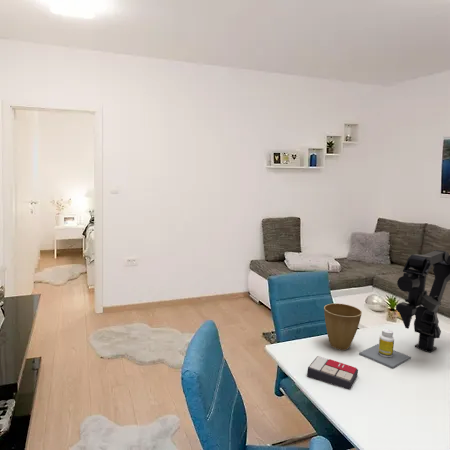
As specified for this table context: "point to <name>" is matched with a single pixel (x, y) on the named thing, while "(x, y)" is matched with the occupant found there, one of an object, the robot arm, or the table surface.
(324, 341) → the table surface
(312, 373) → the calculator
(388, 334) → the supplement bottle
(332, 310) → the plant pot
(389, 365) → the slate mat
